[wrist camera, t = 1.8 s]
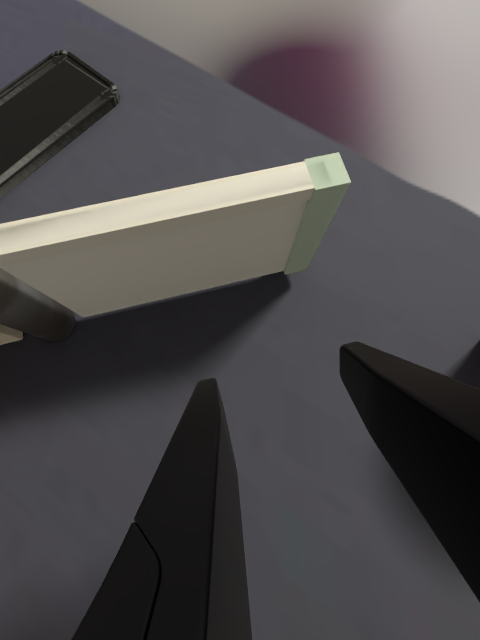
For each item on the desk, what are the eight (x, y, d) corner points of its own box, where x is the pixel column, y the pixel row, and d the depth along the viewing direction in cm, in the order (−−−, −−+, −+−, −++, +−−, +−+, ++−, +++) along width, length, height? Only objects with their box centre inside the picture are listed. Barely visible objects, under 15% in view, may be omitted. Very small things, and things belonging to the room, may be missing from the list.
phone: (122, 90, 27) (-23, 204, 24) (127, 102, 28) (-12, 213, 25) (61, 45, 28) (-85, 148, 25) (67, 59, 29) (-72, 159, 26)
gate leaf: (84, 321, 21) (-22, 261, 12) (81, 299, 21) (-23, 226, 13) (306, 269, 22) (351, 182, 13) (299, 249, 22) (338, 152, 14)
